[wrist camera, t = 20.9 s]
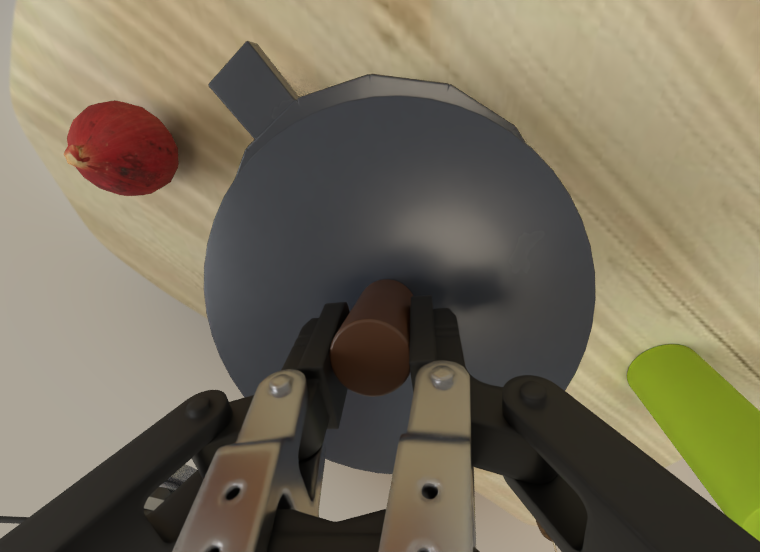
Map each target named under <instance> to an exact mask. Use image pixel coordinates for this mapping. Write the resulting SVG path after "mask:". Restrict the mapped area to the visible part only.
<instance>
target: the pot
mask: <svg viewBox="0 0 760 552" xmlns="http://www.w3.org/2000/svg"><path fill="white" fill-rule="evenodd" d="M209 87H210V88H211V89H212V90H213V92H214V93H215V94H216V95H217V96H218V97H219V99H220V100H221V101H222V102H223V103H224V104H225V105H226V107H227V108H228V109H229V110H230V111H231V112H232V114H233V115H234V116H235V117H236V118H237V119H238V121H239V122H240V123H241V124H242V125H243V126H244V127H245V129H246V130H247V131H248V132H249V133H250V134H251V136H252V137H253V138H254V139H255V140H254V141H253V142H252V143H251V144H250V145H249V146H248V147H247V148H246V149H245V152H244V155H243V158H242V160H241V163H240V166H239V169H238V172H237V174H236V176H237V175H238V174H239V172H240V171H241V170H242V169H243V168H244V166H245V165H246V164H247V163H248V161H249V160H250V159H251V158H252V156H253V155H254V154H256V153H257V152H258V151H259V150H260V149H261V148H262V147H263V146H264V145H265V144H266V143H267V142H268V141H270V140H271V139H272V138H273V137H274V136H276V135H277V134H279V133H280V132H282V131H283V130H284V129H286V128H287V127H289V126H290V125H292V124H293V123H295V122H297V121H299V120H301V119H303V118H305V117H307V116H309V115H311V114H313V113H315V112H317V111H319V110H321V109H324V108H327V107H330V106H333V105H336V104H339V103H342V102H346V101H351V100H357V99H362V98H367V97H374V96H399V95H402V96H412V97H421V98H431V99H435V100H439V101H443V102H447V103H451V104H455V105H458V106H461V107H463V108H466V109H468V110H471V111H473V112H476V113H478V114H481V115H483V116H485V117H487V118H489V119H491V120H492V121H494V122H496V123H497V124H499V125H501V126H502V127H504V128H506V129H508V130H509V131H511V132H512V133H513V134H515V135H516V136H517V137H518V138H520V139H521V140H522V141H523V142H525V141H524V139H523V137H522V136H521V134H520V132H519V131H518V129H517V128H516V127H515V125H513V124H511V123H510V122H508V121H507V120H505V119H504V118H502V117H501V116H499V115H498V114H496V113H494V112H493V111H491V110H490V109H488V108H487V107H485V106H484V105H482V104H481V103H479V102H477V101H476V100H474V99H473V98H471V97H470V96H468V95H467V94H465V93H464V92H462V91H460V90H459V89H457V88H456V87H454V86H453V85H451V84H450V85H449V84H448V83H440V82H432V81H425V80H417V79H409V78H401V77H393V76H385V75H377V74H367V75H364V76H361V77H358V78H355V79H352V80H349V81H346V82H343V83H340V84H337V85H334V86H331V87H328V88H326V89H323V90H320V91H317V92H314V93H311V94H308V95H305V96H302V97H299V96H298V95H297V94H296V92H295V91H294V90H293V89H292V87H291V86H290V85H289V83H288V82H287V81H286V80H285V78H284V77H283V76H282V75H281V73H280V72H279V71H278V70H277V68H276V67H275V66H274V64H273V63H272V62H271V61H270V59H269V58H268V57H267V56H266V54H265V53H264V52H263V51H262V49H261V48H260V47H259V45H258V44H256V43H253V42H250V41H246V42H245V43H244V45H243V46H242V47H241V48H240V49H239V50H238V51H237V52H236V54H235V55H234V56H233V57H232V58H231V59H230V60H229V61H228V63H227V64H226V65H225V66H224V67H223V68H222V69H221V71H220V72H219V73H218V74H217V75H216V76H215V77H214V78H213V80H212V81H211V82H210V83H209ZM525 143H526V142H525ZM235 178H236V177H235Z"/></svg>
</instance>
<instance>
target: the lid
mask: <svg viewBox="0 0 760 552" xmlns="http://www.w3.org/2000/svg"><path fill="white" fill-rule="evenodd" d="M204 295H205V304H206V313H207V317H208V321H209V325H210V329H211V333H212V337H213V339H214V342H215V345H216V347H217V350H218V353H219V355H220V357H221V359H222V361H223V363H224V365H225V367H226V369H227V371H228V373H229V375H230V377H231V378H232V380H233V381H234V383H235V384H236V386H237V387H238V389H239V390H240V392H241V393H242V394H243V396H244V397H249V396H252V395H255V392H256V389H257V387H258V386H259V384H260V383H261V382H262V381H263V380H264V379H265V378H266V377H268V376H269V375H271V374H273V373H275V372H278V371H281V370H282V368H283V366H284V363H285V361H286V359H287V357H288V355H289V353H290V351H291V349H292V347H293V346H294V343H295V341H296V339H297V338H298V335H299V333H300V331H301V329H302V327H303V326H304V325H305V324H306V323H307V322H308V321H309V320H311V319H312V318H319V317H320V314H321V312H322V310H323V307H324V305H325V304H326V303H338V302H347V304H348V307H349V311H350V313H349V314H348V316H347V318H346V319H345V321H344V322H343V324H342V326H341V327H340V329H339V330H338V332H337V333H336V335H335V337H334V338H333V341H332V343H331V347H330V363H331V367H332V370H333V372H334V374H335V376H336V377H337V379H338V380H339V381H340V382H341V383H342V384H343V385H344V386H345V387H346V388H348V390H347V394H346V399H345V403H344V407H343V412H342V416H341V420H340V425H339V429H327V430H326V434H325V438H324V442H325V445H326V455H325V459H328V460H330V461H332V462H335V463H338V464H342V465H345V466H348V467H351V468H355V469H359V470H364V471H370V472H375V473H384V474H393V470H394V465H395V459H396V454H397V448H398V443H399V439H400V436H401V434H402V433H404V434H406V433H407V429H408V423H409V417H410V411H411V405H412V399H413V388H412V381H411V373H410V366H409V346H410V309H411V297H412V296H424V295H432V303H433V309H440V308H449V309H450V310H451V311H452V312H453V313H454V314H455V315H456V317H457V322H458V328H459V334H460V339H461V345H462V350H463V356H464V361H465V366H466V369H467V371H468V372H469V373H470V375H472V376H473V377H474V378H475V379H477V380H479V381H481V382H483V383H486V384H490V385H494V386H499V387H504V385H505V384H506V382H507V381H509V380H510V379H512V378H514V377H517V376H522V375H533V376H539V377H543V378H545V379H548V380H550V381H552V382H553V383H555V384H556V385H558V386H559V387H560V388H561V389H563V390H564V391H565V390H566V388H567V386H568V385H569V383H570V381H571V380H572V378H573V377H574V375H575V373H576V371H577V369H578V366H579V364H580V362H581V359H582V357H583V355H584V352H585V350H586V346H587V343H588V339H589V335H590V332H591V328H592V323H593V315H594V307H595V270H594V264H593V258H592V252H591V246H590V243H589V240H588V237H587V234H586V231H585V227H584V224H583V221H582V219H581V217H580V215H579V213H578V211H577V208H576V206H575V204H574V202H573V200H572V198H571V196H570V194H569V193H568V191H567V190H566V189H565V187H564V186H563V184H562V183H561V181H560V180H559V178H558V177H557V175H556V174H555V173H554V171H553V170H552V169H551V168H550V167H549V166H548V165H547V164H546V162H545V161H544V160H543V159H542V158H541V157H540V156H539V155H538V154H537V153H536V152H535V151H534V150H533V149H532V148H531V147H530V146H528V145H527V144H526V143H525V142H523V141H522V140H521V139H520V138H518V137H517V136H516V135H515V134H513V133H512V132H511V131H509V130H508V129H506V128H504V127H502V126H501V125H499V124H497V123H496V122H494V121H492V120H491V119H489V118H487V117H485V116H483V115H481V114H478V113H476V112H473V111H471V110H468V109H466V108H463V107H461V106H458V105H455V104H451V103H447V102H443V101H439V100H435V99H431V98H421V97H412V96H402V95H399V96H374V97H367V98H362V99H357V100H351V101H346V102H342V103H339V104H336V105H333V106H330V107H327V108H324V109H321V110H319V111H317V112H315V113H313V114H311V115H309V116H307V117H305V118H303V119H301V120H299V121H297V122H295V123H293V124H292V125H290V126H289V127H287V128H286V129H284V130H283V131H282V132H280V133H279V134H277V135H276V136H274V137H273V138H272V139H271V140H270V141H268V142H267V143H266V144H265V145H264V146H263V147H262V148H261V149H260V150H259V151H258V152H257V153H256V154H254V155H253V156H252V158H251V159H250V160H249V161H248V163H247V164H246V165H245V166H244V168H243V169H242V170H241V171H240V172H239V174H238V175H237V176H236V178H235V180H234V181H233V183H232V185H231V186H230V188H229V189H228V191H227V193H226V194H225V196H224V198H223V200H222V203H221V205H220V207H219V210H218V212H217V214H216V216H215V219H214V222H213V225H212V229H211V232H210V236H209V240H208V243H207V250H206V257H205V264H204Z"/></svg>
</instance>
